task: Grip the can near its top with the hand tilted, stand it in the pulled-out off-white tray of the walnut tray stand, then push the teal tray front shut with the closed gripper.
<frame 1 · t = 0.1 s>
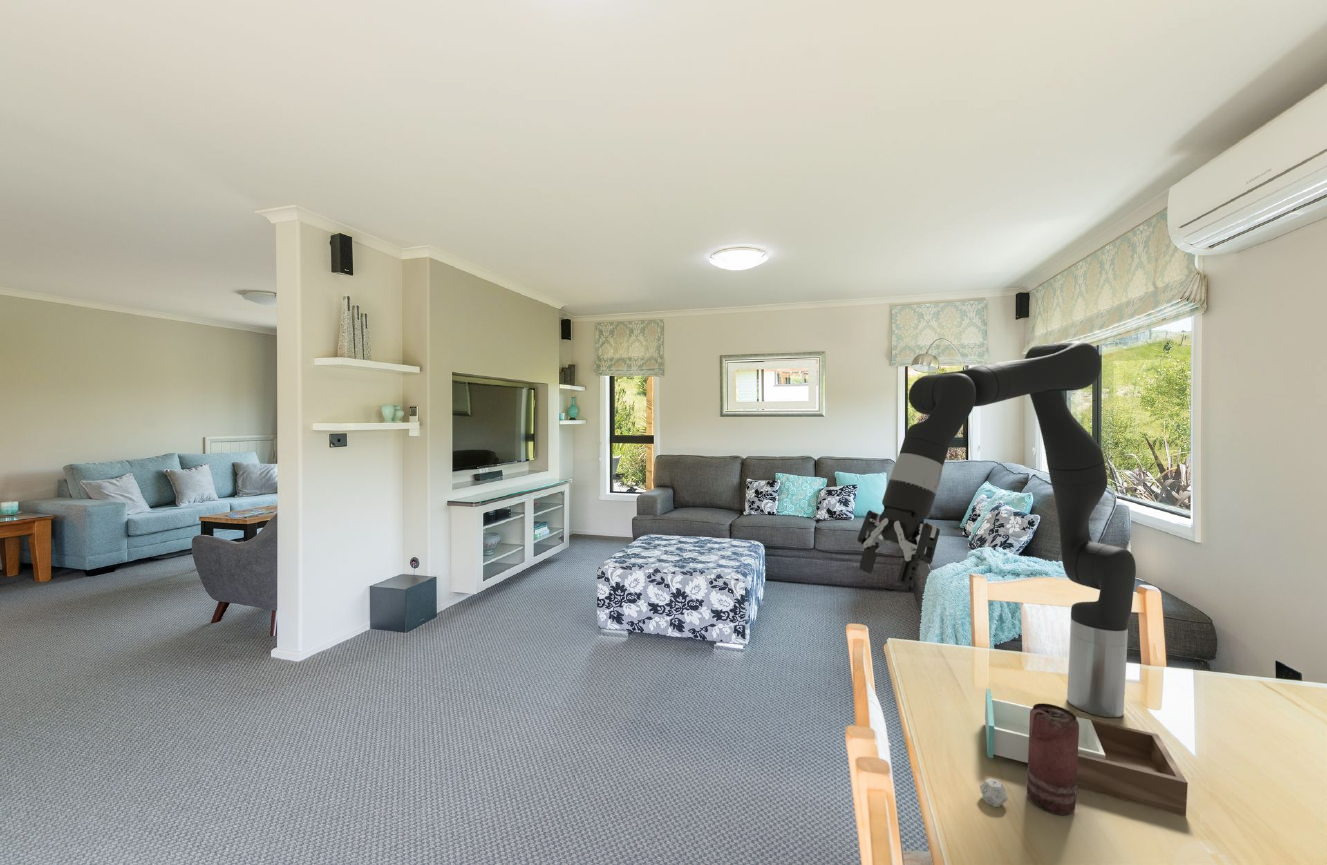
hand: (882, 578, 94), 31 cm above the table, tool tilted 20°, fingers open, 8 cm apart
can: (1049, 803, 86), on the table
tray stand: (1103, 770, 95), on the table
game die: (993, 803, 86), on the table
tray: (1039, 733, 99), point 4 cm above the table, slide at 8.0 cm
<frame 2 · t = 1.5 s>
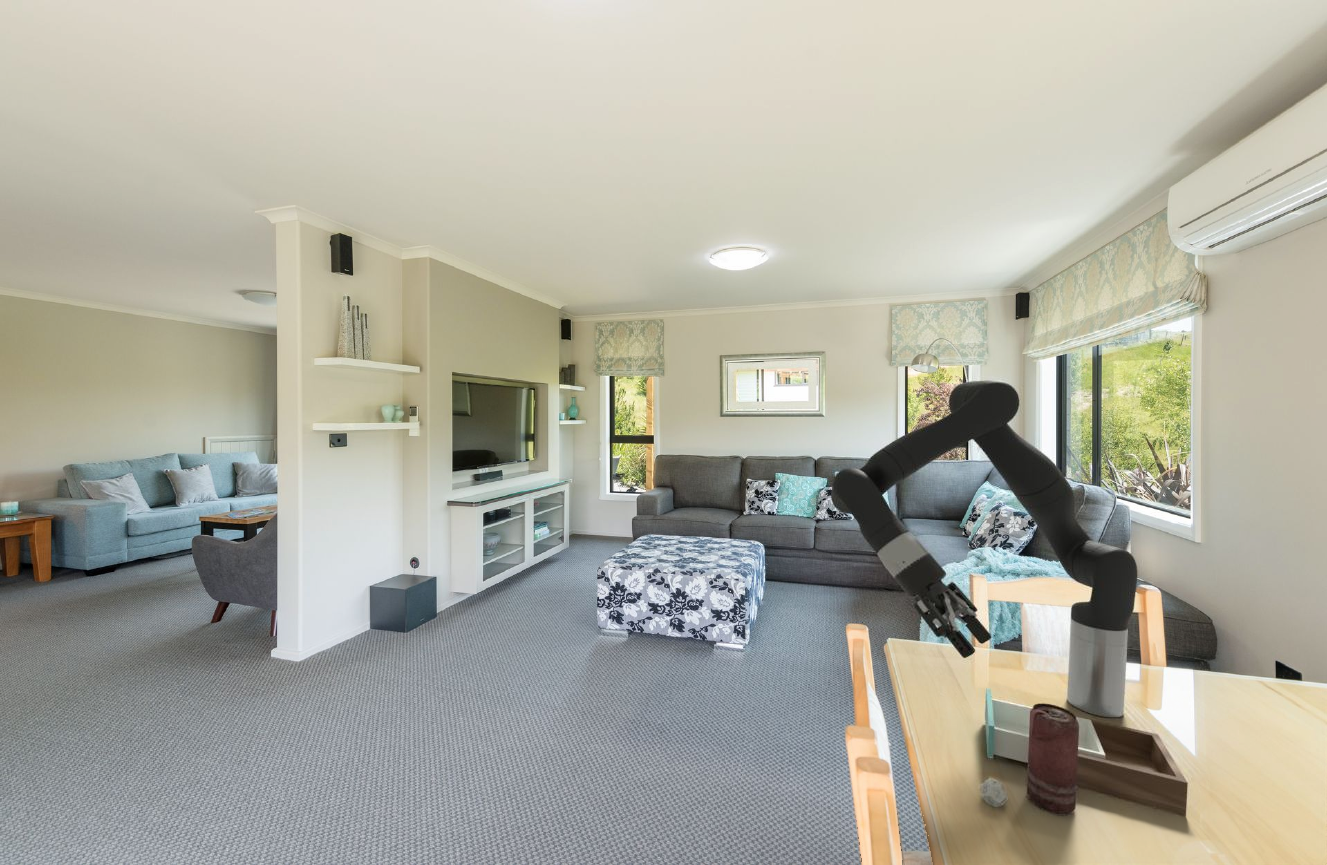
hand: (978, 647, 93), 20 cm above the table, tool tilted 45°, fingers open, 8 cm apart
nothing on the table moved.
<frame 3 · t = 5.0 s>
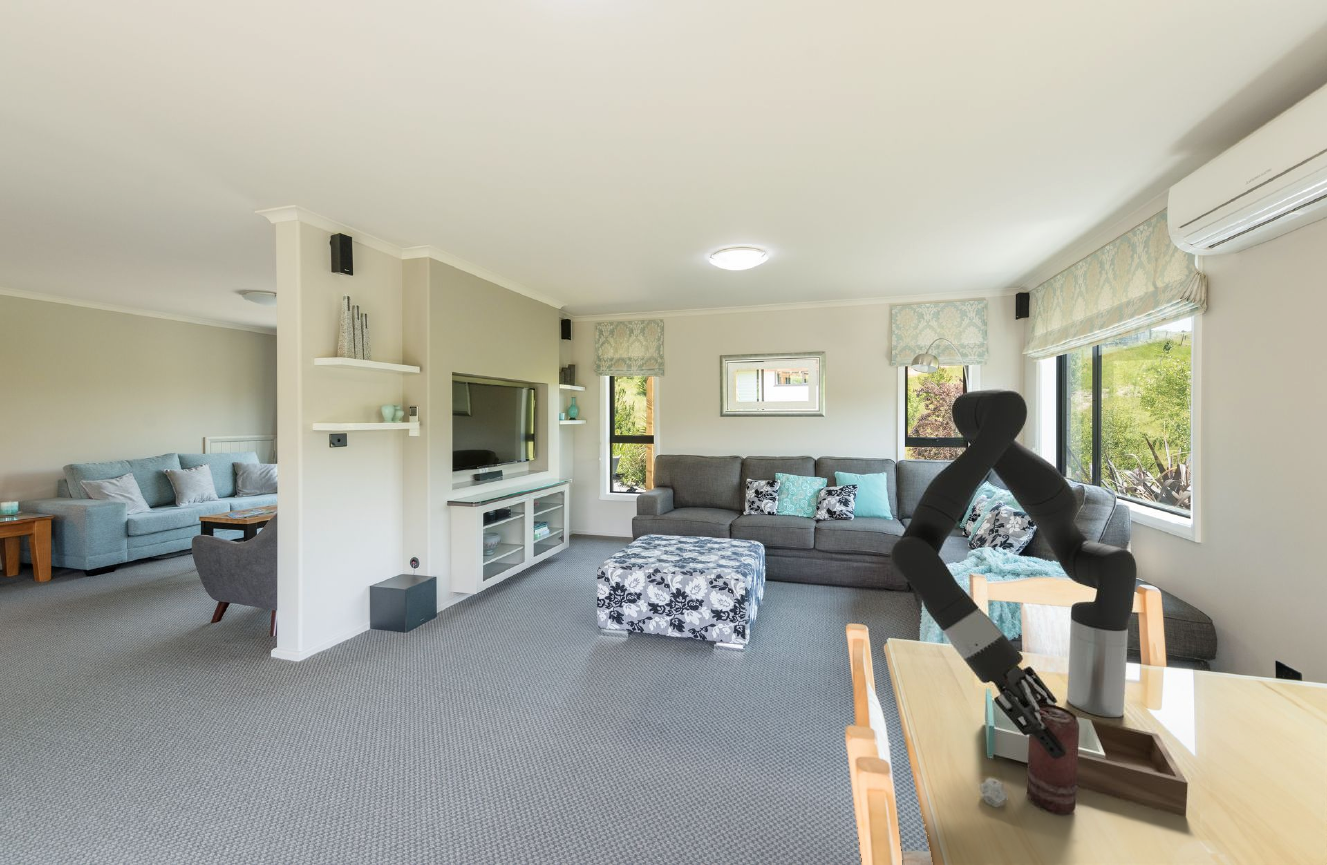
hand: (1065, 746, 85), 9 cm above the table, tool tilted 45°, fingers closed on can, 6 cm apart
can: (1049, 803, 86), on the table, touching gripper
everything else where it was.
when the fingers open (13 cm above the table, at t = 10.1 s): can drops 1 cm, resting on tray.
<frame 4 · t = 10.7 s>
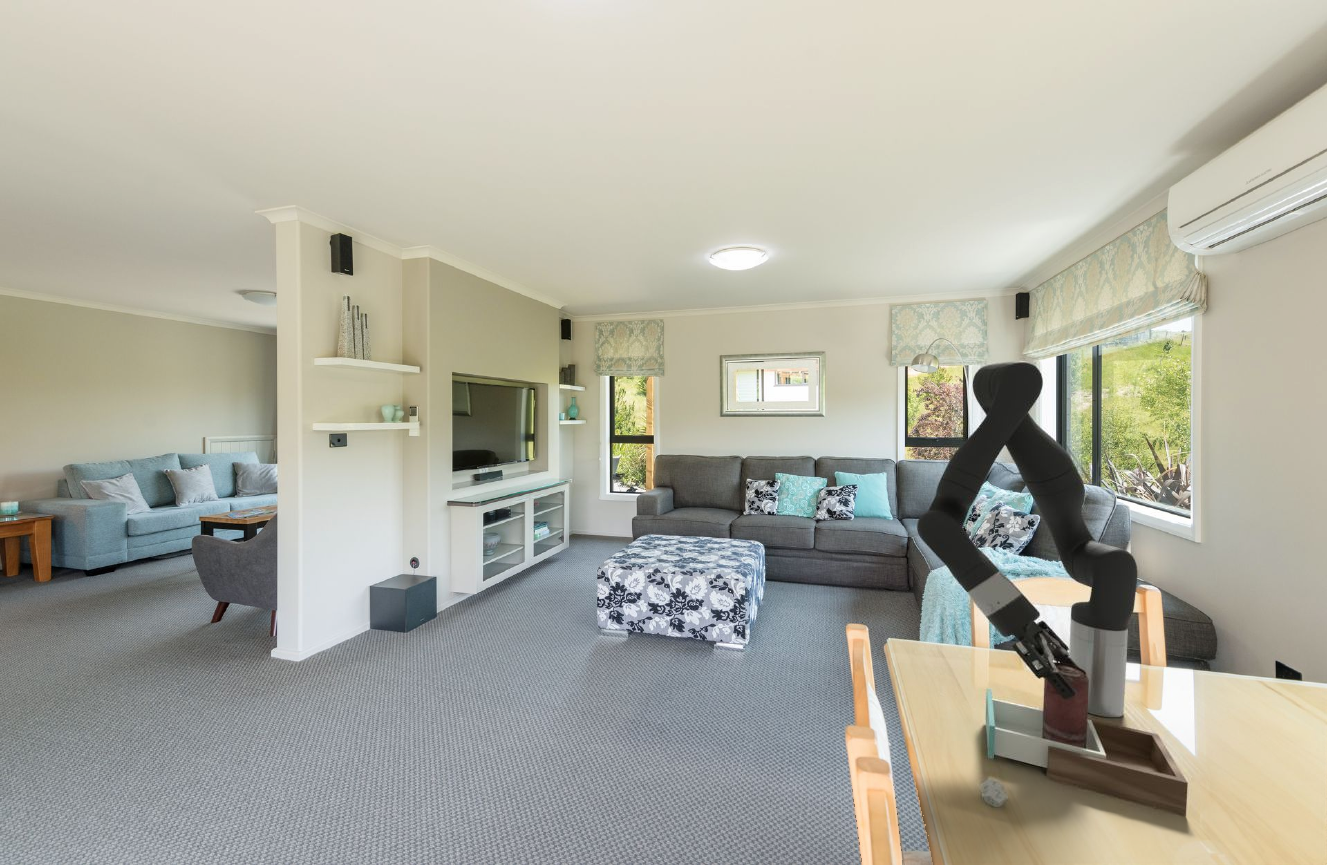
hand: (1076, 688, 96), 13 cm above the table, tool tilted 45°, fingers open, 8 cm apart
can: (1062, 750, 97), point 2 cm above the table, touching tray
tray: (1040, 733, 99), point 4 cm above the table, slide at 7.9 cm, touching can
everything else where it was.
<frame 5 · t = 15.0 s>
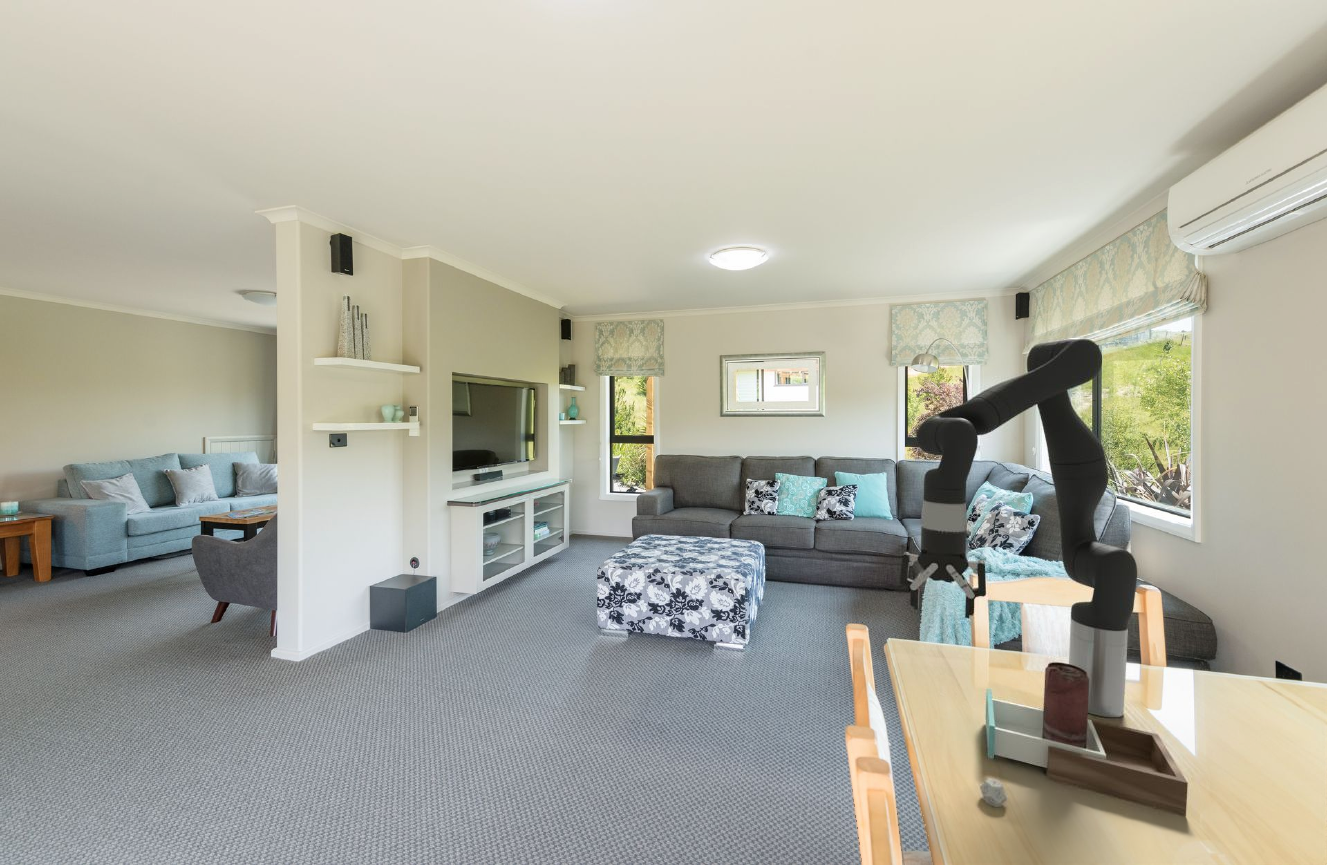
hand: (941, 612, 106), 22 cm above the table, tool pointing down, fingers open, 8 cm apart
nothing on the table moved.
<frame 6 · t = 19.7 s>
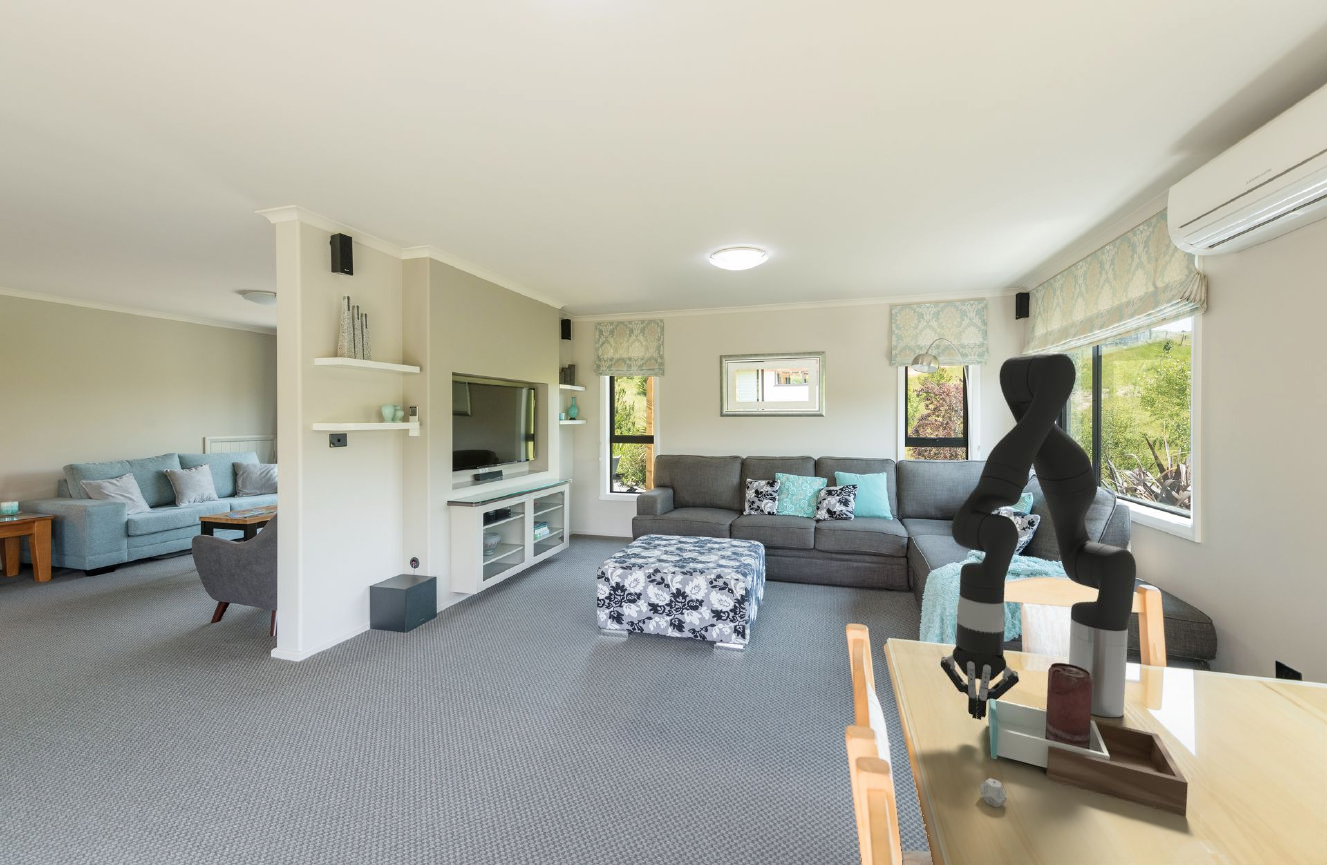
hand: (976, 716, 103), 4 cm above the table, tool pointing down, fingers closed
tray: (1043, 733, 98), point 4 cm above the table, slide at 7.5 cm, touching can, gripper
everything else where it was.
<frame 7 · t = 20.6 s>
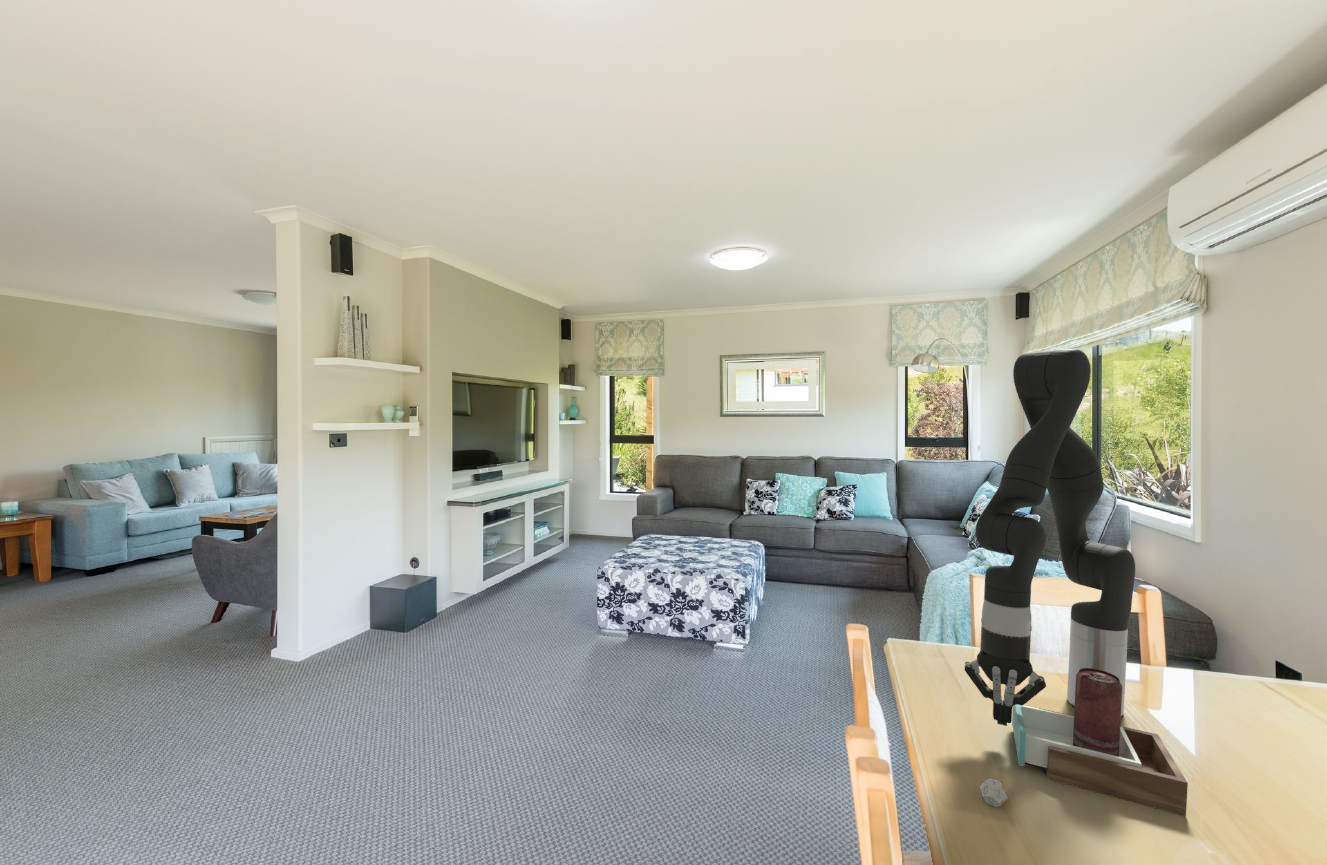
hand: (1001, 722, 102), 4 cm above the table, tool pointing down, fingers closed
can: (1094, 758, 95), point 2 cm above the table, touching tray
tray: (1071, 740, 97), point 4 cm above the table, slide at 3.5 cm, touching can, gripper
everything else where it was.
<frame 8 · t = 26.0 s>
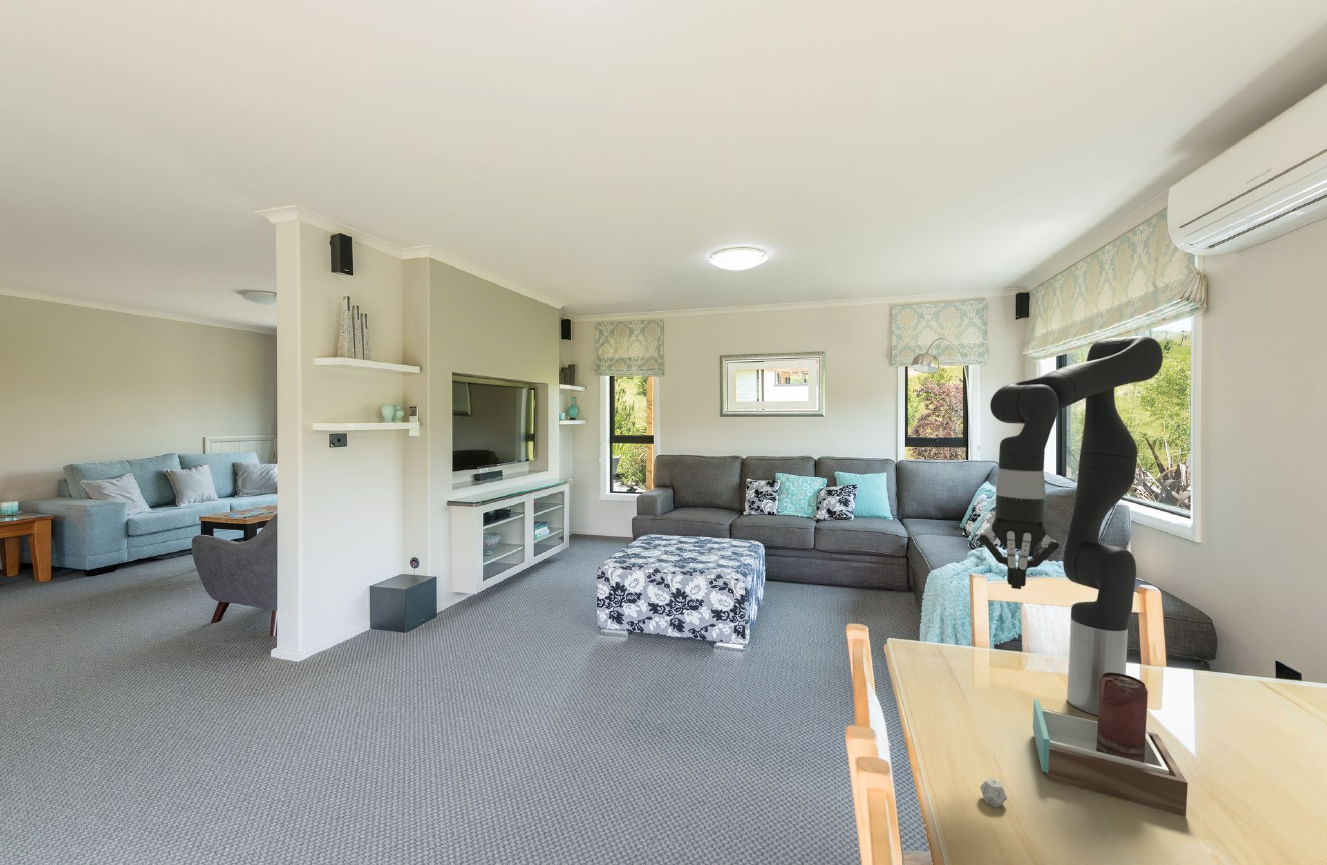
hand: (1015, 587, 105), 27 cm above the table, tool pointing down, fingers closed
can: (1118, 764, 94), point 2 cm above the table, touching tray
tray: (1094, 746, 95), point 4 cm above the table, slide at 0.3 cm, touching can
everything else where it was.
at the end: tray slide at 0.3 cm; can inside the target area on the tray stand (1.9 cm from its centre), point 1.7 cm above the tray stand's base; can tilted 0° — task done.
